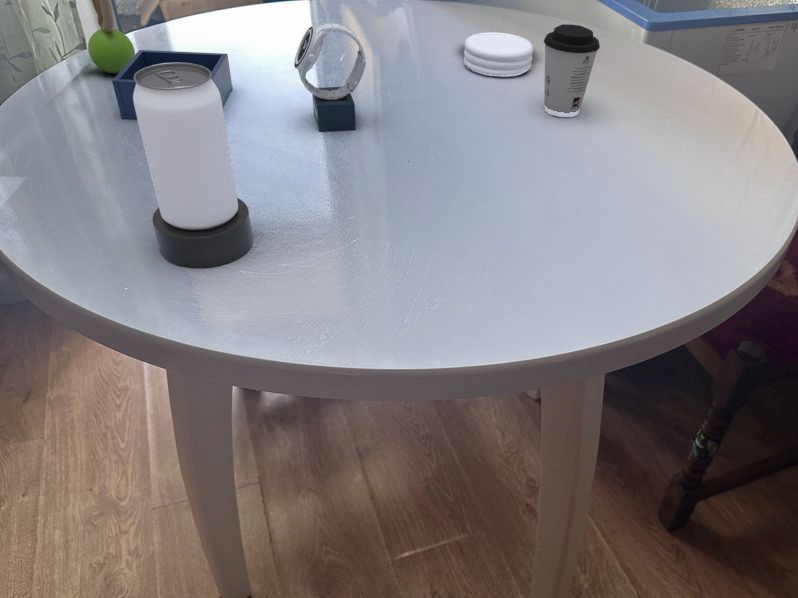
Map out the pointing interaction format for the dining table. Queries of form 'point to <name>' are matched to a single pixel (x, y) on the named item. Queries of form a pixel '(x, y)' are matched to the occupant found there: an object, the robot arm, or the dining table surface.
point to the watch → (329, 102)
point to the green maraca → (109, 41)
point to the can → (186, 145)
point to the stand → (205, 241)
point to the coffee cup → (568, 66)
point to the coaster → (497, 53)
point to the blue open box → (145, 58)
